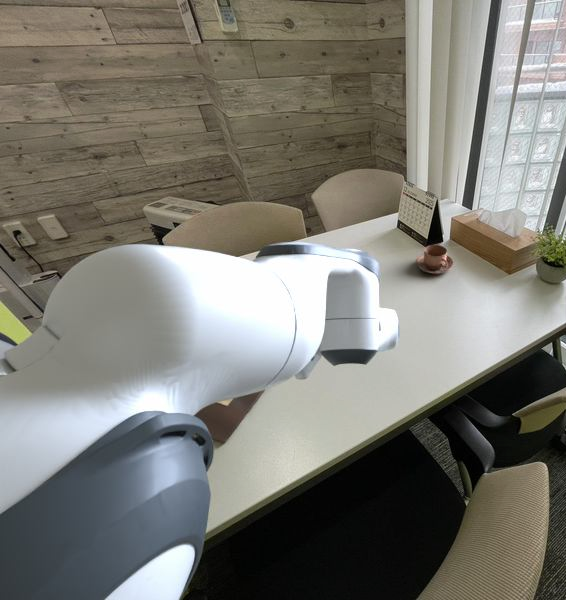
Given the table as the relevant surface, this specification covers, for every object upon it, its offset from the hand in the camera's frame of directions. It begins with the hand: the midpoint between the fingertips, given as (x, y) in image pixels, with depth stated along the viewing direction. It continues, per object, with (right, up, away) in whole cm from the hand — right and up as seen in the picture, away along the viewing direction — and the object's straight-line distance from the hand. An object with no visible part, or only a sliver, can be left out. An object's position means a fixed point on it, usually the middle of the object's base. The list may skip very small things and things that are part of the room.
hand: (234, 334), depth 59 cm
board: (-7, -13, +10) cm, 18 cm away
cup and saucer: (+42, +17, +48) cm, 66 cm away
